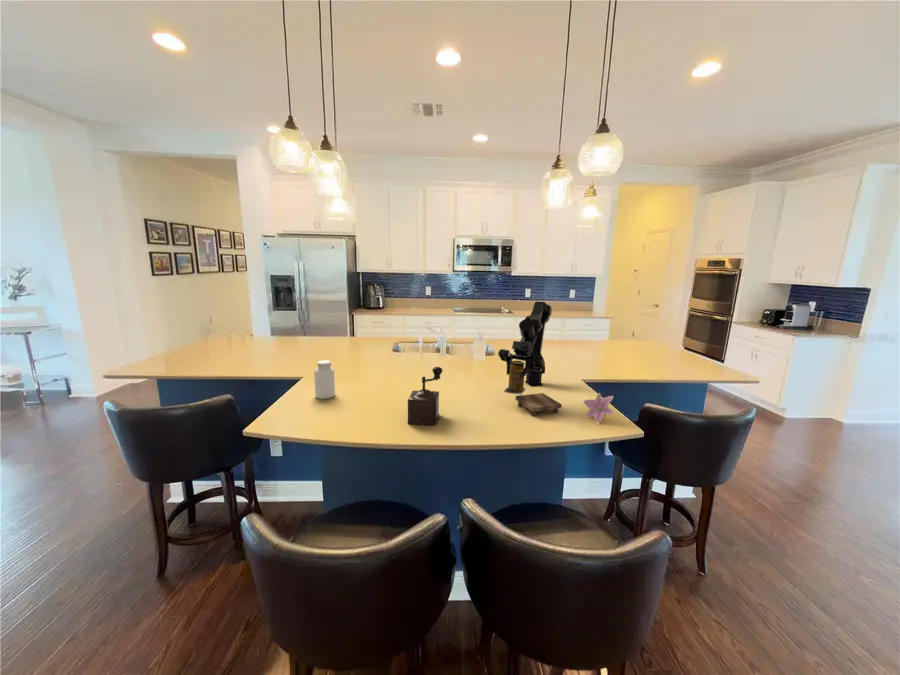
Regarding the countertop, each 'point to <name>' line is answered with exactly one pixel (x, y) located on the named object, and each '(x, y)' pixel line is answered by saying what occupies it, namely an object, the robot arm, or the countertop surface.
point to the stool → (538, 403)
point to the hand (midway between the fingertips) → (514, 376)
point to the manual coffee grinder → (424, 404)
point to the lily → (598, 407)
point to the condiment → (516, 378)
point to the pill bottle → (324, 380)
